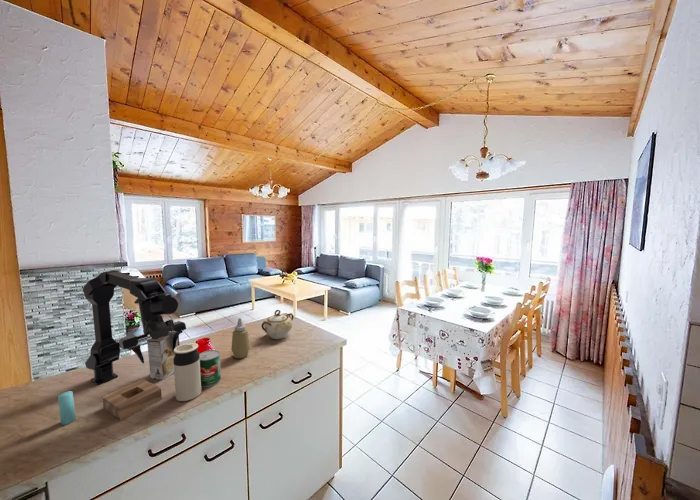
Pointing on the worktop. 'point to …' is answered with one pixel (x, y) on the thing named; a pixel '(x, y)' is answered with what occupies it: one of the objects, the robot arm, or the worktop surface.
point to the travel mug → (187, 371)
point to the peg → (66, 408)
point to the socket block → (131, 399)
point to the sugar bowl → (278, 325)
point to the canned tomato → (210, 368)
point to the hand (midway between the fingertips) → (158, 357)
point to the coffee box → (161, 357)
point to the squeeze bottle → (240, 340)
